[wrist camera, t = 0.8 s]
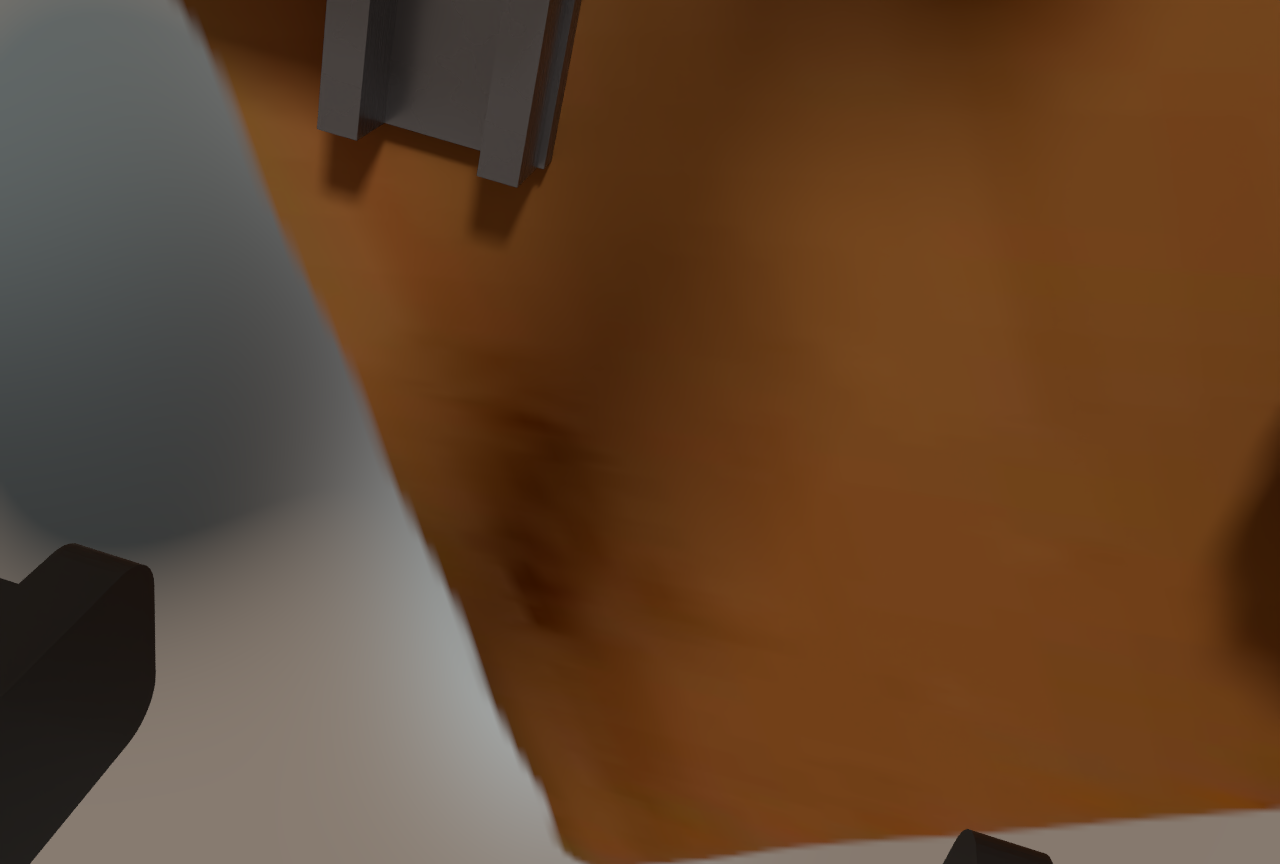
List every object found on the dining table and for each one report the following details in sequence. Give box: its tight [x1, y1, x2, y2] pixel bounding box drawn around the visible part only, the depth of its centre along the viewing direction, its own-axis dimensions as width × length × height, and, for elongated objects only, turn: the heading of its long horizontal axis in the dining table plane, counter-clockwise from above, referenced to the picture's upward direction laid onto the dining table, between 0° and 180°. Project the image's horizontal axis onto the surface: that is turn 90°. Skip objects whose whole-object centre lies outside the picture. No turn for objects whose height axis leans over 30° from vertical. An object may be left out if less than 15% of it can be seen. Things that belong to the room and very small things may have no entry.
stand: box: [317, 0, 581, 188], centre depth 40 cm, size 9×8×4 cm
